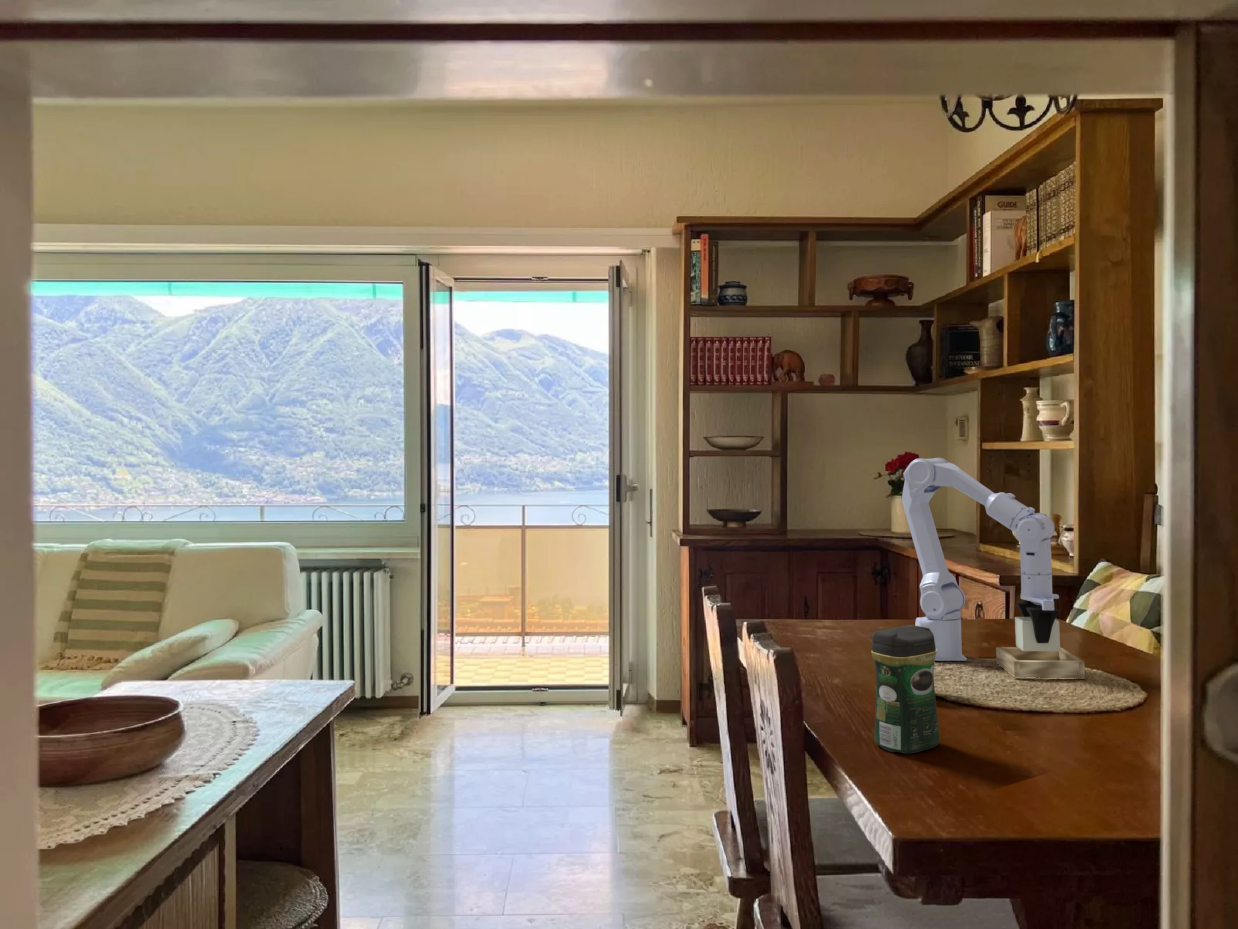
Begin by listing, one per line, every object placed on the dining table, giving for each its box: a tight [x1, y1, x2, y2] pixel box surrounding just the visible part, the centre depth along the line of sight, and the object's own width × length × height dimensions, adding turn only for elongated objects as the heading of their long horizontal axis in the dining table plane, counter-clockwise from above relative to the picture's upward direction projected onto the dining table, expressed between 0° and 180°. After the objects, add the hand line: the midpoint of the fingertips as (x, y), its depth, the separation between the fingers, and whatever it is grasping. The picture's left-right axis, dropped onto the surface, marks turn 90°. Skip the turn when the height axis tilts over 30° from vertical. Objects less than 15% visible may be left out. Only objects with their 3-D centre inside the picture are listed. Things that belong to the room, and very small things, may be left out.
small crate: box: [1014, 616, 1061, 651], centre depth 178 cm, size 7×5×6 cm
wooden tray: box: [995, 646, 1086, 679], centre depth 178 cm, size 13×13×4 cm
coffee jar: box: [870, 624, 941, 754], centre depth 136 cm, size 10×8×19 cm
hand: (1038, 639), depth 178 cm, fingers closed on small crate, 5 cm apart
